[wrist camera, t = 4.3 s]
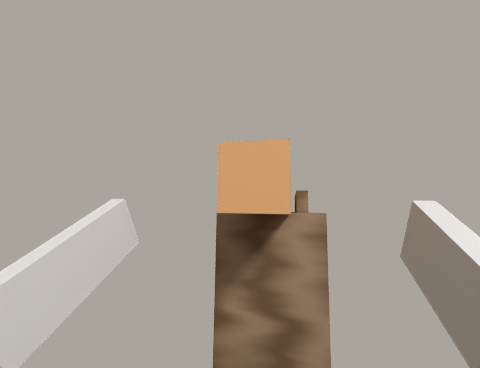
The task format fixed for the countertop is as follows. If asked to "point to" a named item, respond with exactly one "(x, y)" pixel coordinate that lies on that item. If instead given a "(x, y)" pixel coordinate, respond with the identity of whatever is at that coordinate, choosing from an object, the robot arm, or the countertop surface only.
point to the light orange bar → (254, 177)
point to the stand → (272, 290)
